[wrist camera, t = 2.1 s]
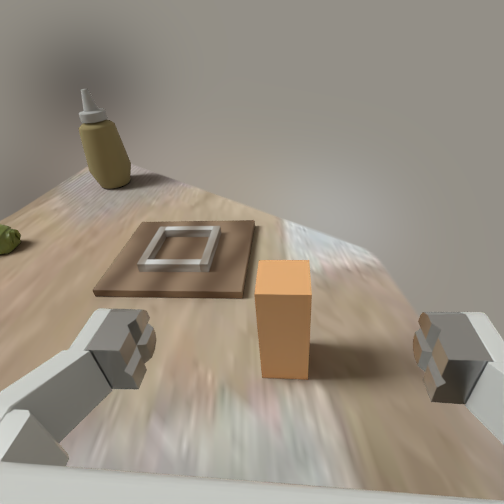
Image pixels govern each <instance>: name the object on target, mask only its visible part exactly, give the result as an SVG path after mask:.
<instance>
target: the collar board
mask: <svg viewBox="0 0 504 504" xmlns="http://www.w3.org/2000/svg"><path fill="white" fill-rule="evenodd" d="M254 228H255V222H254V220H247V221H181V222H142V223H141V224H140V225H139V227H138V228H137V230H136V231H135V232H134V234H133V235H132V236H131V238H130V239H129V241H128V242H127V243H126V245H125V246H124V247H123V249H122V250H121V252H120V253H119V254H118V256H117V257H116V258H115V260H114V261H113V263H112V264H111V265H110V267H109V268H108V269H107V271H106V272H105V274H104V275H103V276H102V278H101V279H100V280H99V282H98V283H97V285H96V286H95V287H94V289H93V292H94V294H95V296H114V297H185V298H242V297H243V291H244V286H245V280H246V274H247V268H248V263H249V257H250V251H251V245H252V240H253V234H254Z"/></svg>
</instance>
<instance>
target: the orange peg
mask: <svg viewBox="0 0 504 504" xmlns="http://www.w3.org/2000/svg"><path fill="white" fill-rule="evenodd" d="M254 295H255V306H256V316H257V327H258V338H259V349H260V359H261V370H262V378H283V379H306V380H308V367H309V344H310V321H311V299H312V293H311V279H310V266H309V260H259V264H258V271H257V279H256V286H255V294H254Z"/></svg>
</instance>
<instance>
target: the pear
mask: <svg viewBox="0 0 504 504" xmlns="http://www.w3.org/2000/svg"><path fill="white" fill-rule="evenodd" d="M20 237H21V234H20V233H19V231H18V230H15V229H11V227H9V226H6V225H0V254H9V253H10V252H11V251H12V250H13V249H15V248H16V247H17V246H18V245H19V243H20V242H21V240H20Z"/></svg>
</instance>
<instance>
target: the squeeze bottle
mask: <svg viewBox="0 0 504 504" xmlns="http://www.w3.org/2000/svg"><path fill="white" fill-rule="evenodd" d="M81 93H82V101H83V109H84V111H82V112H80V113H79V116H80V119H81V122H82V123H84V124H82V125H81V126H80V127H79V133H80V137H81V140H82V144H83V148H84V152H85V156H86V160H87V163H88V167H89V171H90V173H91V174H92V175H93V177H94V178H95V179H96V180H97V182H98V183H99V184H100V185H101V187H102V188H105V189H112V188H118V187H121V186H124V185H126V184H127V183H129V181H130V170H131V163H130V160H129V158H128V155H127V153H126V150H125V148H124V146H123V143H122V141H121V138H120V136H119V133H118V131H117V128H116V126H115V123H113V122H112V121H110V120H106V119H107V115H106V111H105V109H99V108H98V107H97V105H96V103H95V101H94V99H93V97H92V96H91V94H90V92H89V90H88V89H82V90H81Z"/></svg>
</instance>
